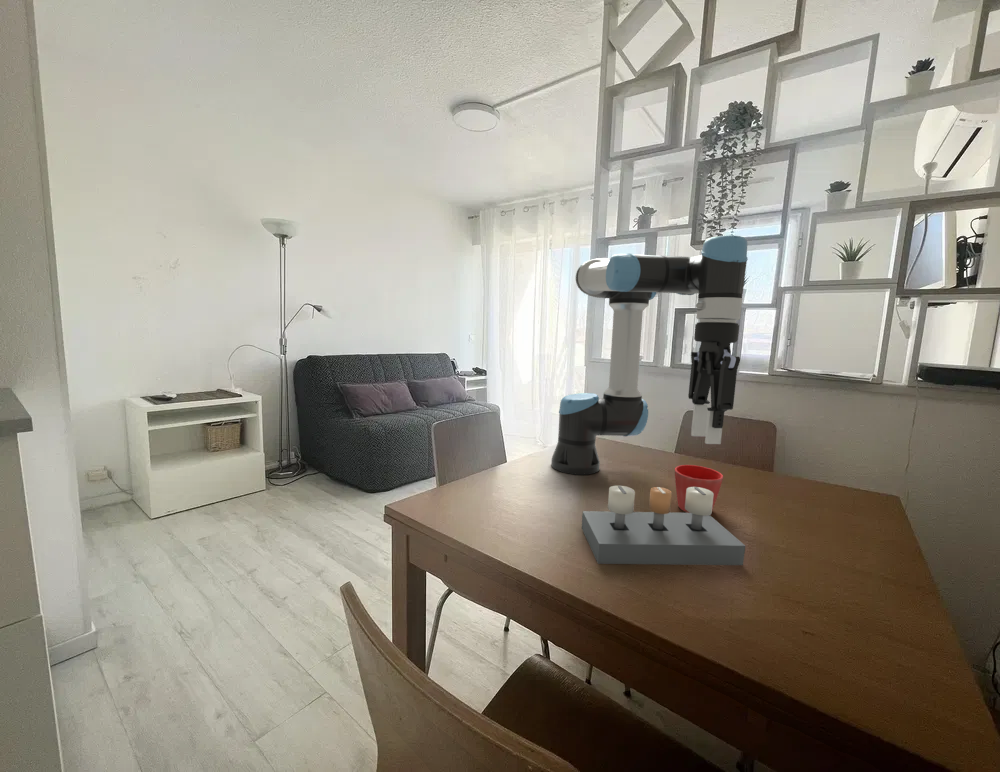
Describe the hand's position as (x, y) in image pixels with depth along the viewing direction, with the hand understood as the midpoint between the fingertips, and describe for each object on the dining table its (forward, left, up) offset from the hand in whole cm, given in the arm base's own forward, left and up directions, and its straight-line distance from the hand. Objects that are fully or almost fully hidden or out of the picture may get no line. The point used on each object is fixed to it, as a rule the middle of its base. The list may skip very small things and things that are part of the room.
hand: (705, 439), depth 84 cm
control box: (0, -8, -23) cm, 24 cm away
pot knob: (0, -8, -19) cm, 20 cm away
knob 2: (0, 0, -19) cm, 19 cm away
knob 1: (0, -16, -19) cm, 25 cm away
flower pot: (-18, +9, -23) cm, 31 cm away
